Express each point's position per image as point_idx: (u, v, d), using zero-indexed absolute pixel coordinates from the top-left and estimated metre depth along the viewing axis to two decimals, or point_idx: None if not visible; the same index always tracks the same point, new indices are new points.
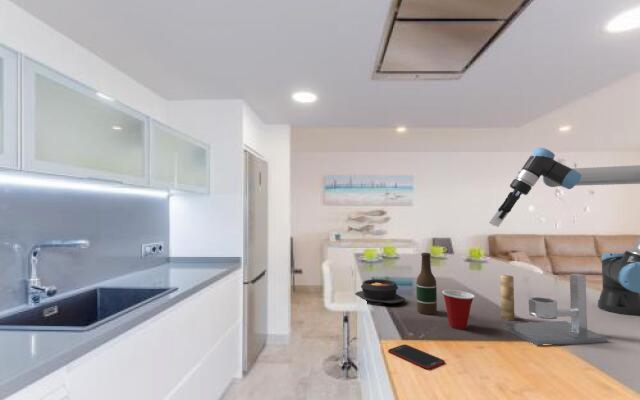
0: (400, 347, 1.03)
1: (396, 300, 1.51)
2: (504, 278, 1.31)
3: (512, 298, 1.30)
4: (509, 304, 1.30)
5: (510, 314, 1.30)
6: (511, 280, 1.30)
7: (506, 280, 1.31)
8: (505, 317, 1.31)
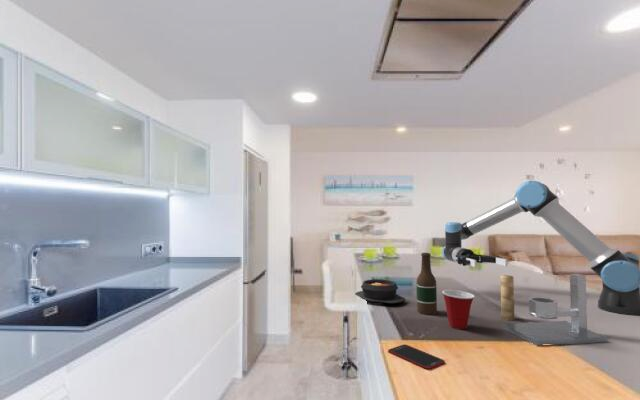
0: (400, 347, 1.03)
1: (396, 300, 1.51)
2: (504, 278, 1.31)
3: (512, 298, 1.30)
4: (509, 304, 1.30)
5: (510, 314, 1.30)
6: (511, 280, 1.30)
7: (506, 280, 1.31)
8: (505, 317, 1.31)
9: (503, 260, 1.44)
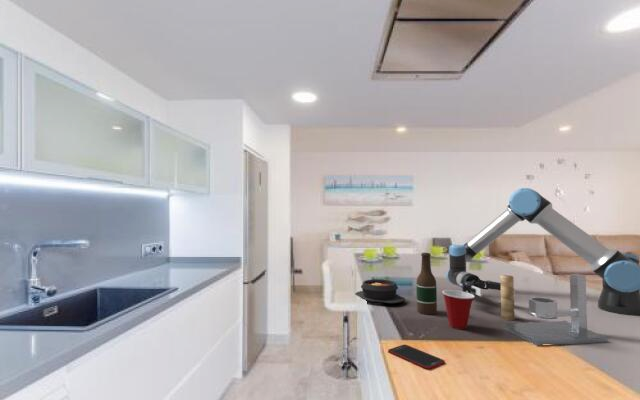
0: (400, 347, 1.03)
1: (396, 300, 1.51)
2: (504, 278, 1.31)
3: (512, 298, 1.30)
4: (509, 304, 1.30)
5: (510, 314, 1.30)
6: (511, 280, 1.30)
7: (506, 280, 1.31)
8: (505, 317, 1.31)
9: None
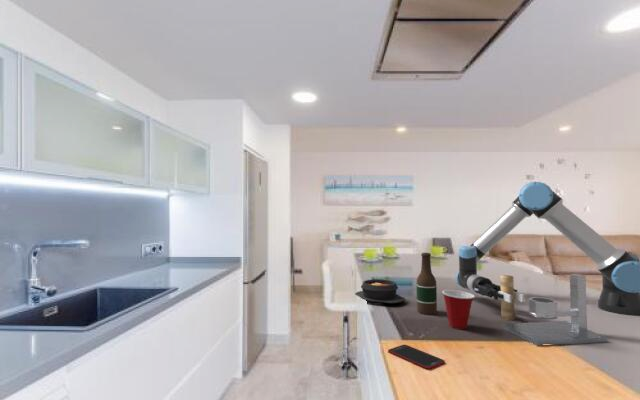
0: (400, 347, 1.03)
1: (396, 300, 1.51)
2: (504, 278, 1.31)
3: (512, 298, 1.30)
4: (509, 304, 1.30)
5: (510, 314, 1.30)
6: (511, 280, 1.30)
7: (506, 280, 1.31)
8: (505, 317, 1.31)
9: (519, 295, 1.29)
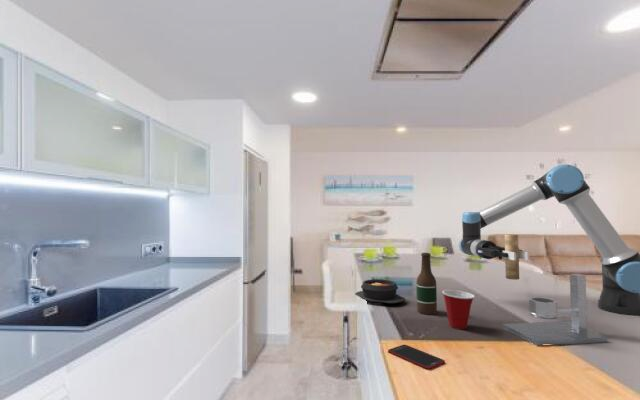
0: (400, 347, 1.03)
1: (396, 300, 1.51)
2: (508, 236, 1.27)
3: (517, 257, 1.26)
4: (514, 263, 1.26)
5: (515, 273, 1.26)
6: (516, 238, 1.26)
7: (511, 239, 1.27)
8: (509, 276, 1.27)
9: (524, 253, 1.24)
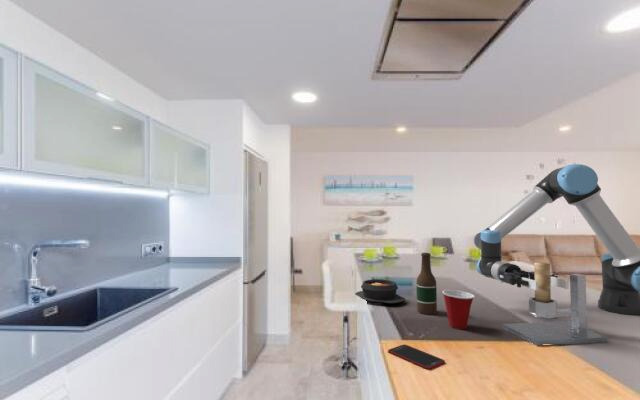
0: (400, 347, 1.03)
1: (396, 300, 1.51)
2: (539, 265, 1.14)
3: (549, 288, 1.13)
4: (545, 295, 1.12)
5: None
6: (548, 267, 1.13)
7: (542, 268, 1.13)
8: None
9: (562, 281, 1.12)
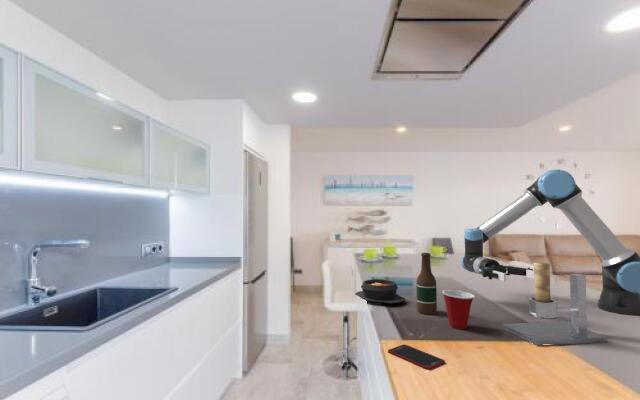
0: (400, 347, 1.03)
1: (396, 300, 1.51)
2: (539, 266, 1.14)
3: (548, 289, 1.13)
4: (545, 296, 1.12)
5: None
6: (547, 268, 1.13)
7: (541, 268, 1.13)
8: None
9: None
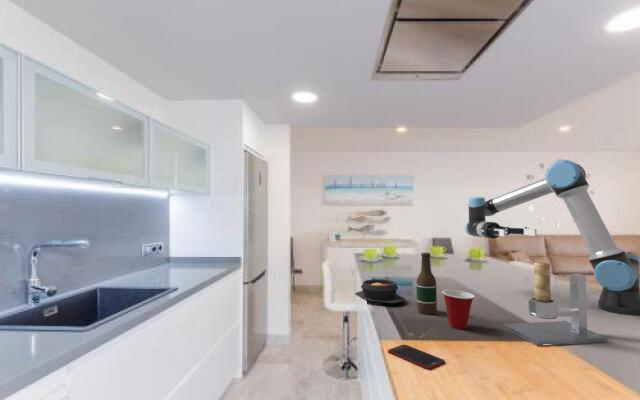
0: (400, 347, 1.03)
1: (396, 300, 1.51)
2: (539, 265, 1.14)
3: (548, 289, 1.13)
4: (545, 295, 1.12)
5: None
6: (547, 268, 1.13)
7: (542, 268, 1.13)
8: None
9: (532, 230, 1.43)
